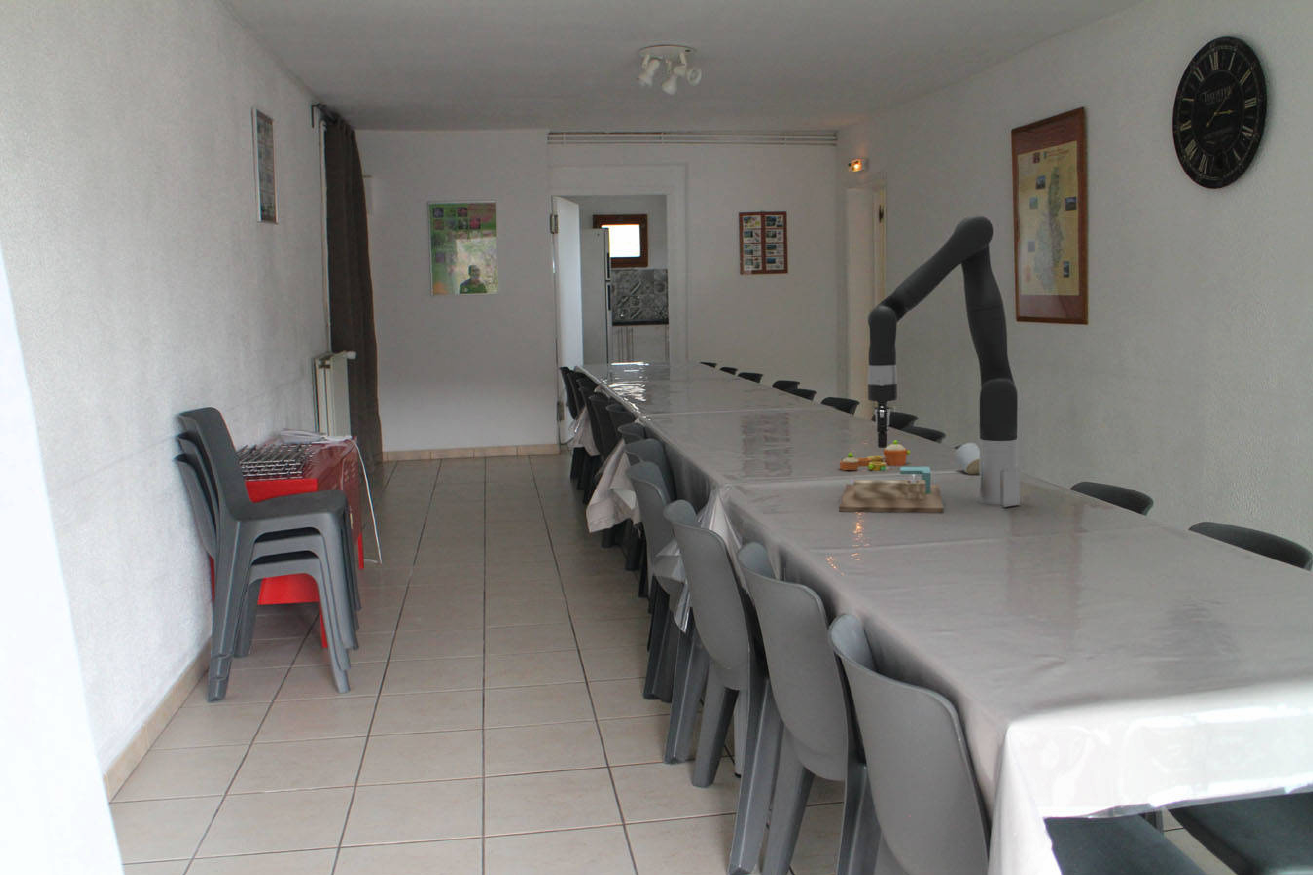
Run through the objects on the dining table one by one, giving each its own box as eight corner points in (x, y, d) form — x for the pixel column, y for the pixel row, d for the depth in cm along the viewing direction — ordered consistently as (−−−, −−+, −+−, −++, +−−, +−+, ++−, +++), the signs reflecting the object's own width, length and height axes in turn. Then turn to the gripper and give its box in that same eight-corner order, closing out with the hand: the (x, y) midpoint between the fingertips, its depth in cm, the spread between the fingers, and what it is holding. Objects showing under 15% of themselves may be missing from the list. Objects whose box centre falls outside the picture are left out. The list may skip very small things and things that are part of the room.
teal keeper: (929, 486, 290) (929, 466, 289) (930, 493, 279) (930, 472, 278) (900, 486, 292) (900, 466, 291) (900, 493, 281) (900, 472, 280)
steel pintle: (916, 496, 275) (916, 474, 274) (916, 497, 273) (916, 475, 272) (910, 496, 275) (910, 474, 274) (910, 497, 273) (910, 475, 273)
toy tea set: (871, 465, 345) (871, 436, 344) (914, 468, 335) (914, 439, 334) (831, 475, 326) (831, 445, 325) (875, 479, 316) (875, 447, 315)
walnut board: (938, 489, 292) (938, 485, 292) (943, 512, 257) (943, 508, 257) (847, 488, 298) (847, 484, 298) (839, 511, 263) (839, 506, 263)
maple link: (924, 495, 276) (924, 480, 276) (925, 498, 271) (925, 483, 270) (854, 494, 281) (854, 479, 280) (853, 498, 275) (853, 483, 274)
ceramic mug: (968, 481, 314) (965, 464, 309) (956, 464, 320) (953, 447, 315) (1000, 468, 314) (998, 450, 309) (987, 451, 320) (985, 434, 315)
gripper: (868, 381, 280) (869, 443, 282) (866, 384, 266) (867, 449, 268) (897, 380, 279) (897, 443, 280) (896, 383, 265) (897, 449, 267)
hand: (882, 446), depth 274 cm, fingers open, 4 cm apart
